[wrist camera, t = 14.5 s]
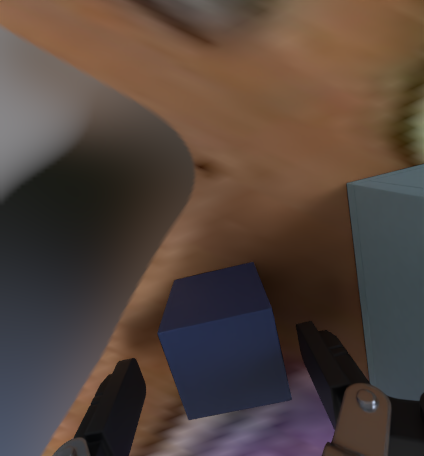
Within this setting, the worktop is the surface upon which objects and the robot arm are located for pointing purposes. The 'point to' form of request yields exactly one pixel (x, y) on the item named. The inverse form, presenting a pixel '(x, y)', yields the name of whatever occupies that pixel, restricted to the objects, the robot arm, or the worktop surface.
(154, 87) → the worktop surface
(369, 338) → the light blue storage bin
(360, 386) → the robot arm
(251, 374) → the block
